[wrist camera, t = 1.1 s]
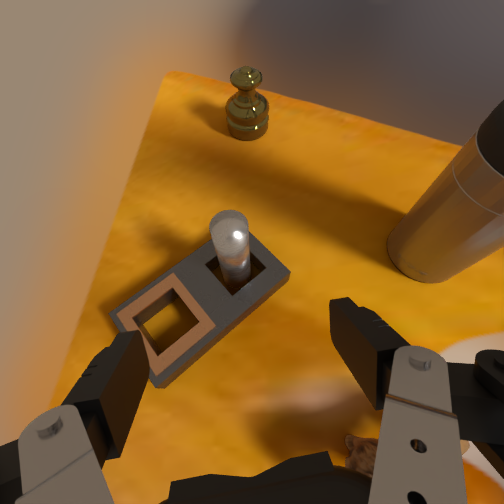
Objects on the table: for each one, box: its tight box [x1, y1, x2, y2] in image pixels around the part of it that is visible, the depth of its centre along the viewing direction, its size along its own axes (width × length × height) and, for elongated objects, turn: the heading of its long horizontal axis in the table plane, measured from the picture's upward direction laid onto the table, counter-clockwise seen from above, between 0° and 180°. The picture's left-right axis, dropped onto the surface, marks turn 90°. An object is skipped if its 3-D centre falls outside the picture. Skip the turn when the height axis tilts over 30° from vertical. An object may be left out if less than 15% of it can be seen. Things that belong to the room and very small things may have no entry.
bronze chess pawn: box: [225, 66, 269, 140], centre depth 45 cm, size 7×7×10 cm
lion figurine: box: [345, 435, 470, 478], centre depth 23 cm, size 15×5×9 cm, turn 120°
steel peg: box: [209, 210, 251, 289], centre depth 30 cm, size 4×4×12 cm
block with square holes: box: [108, 232, 291, 389], centre depth 33 cm, size 19×10×3 cm, turn 131°
